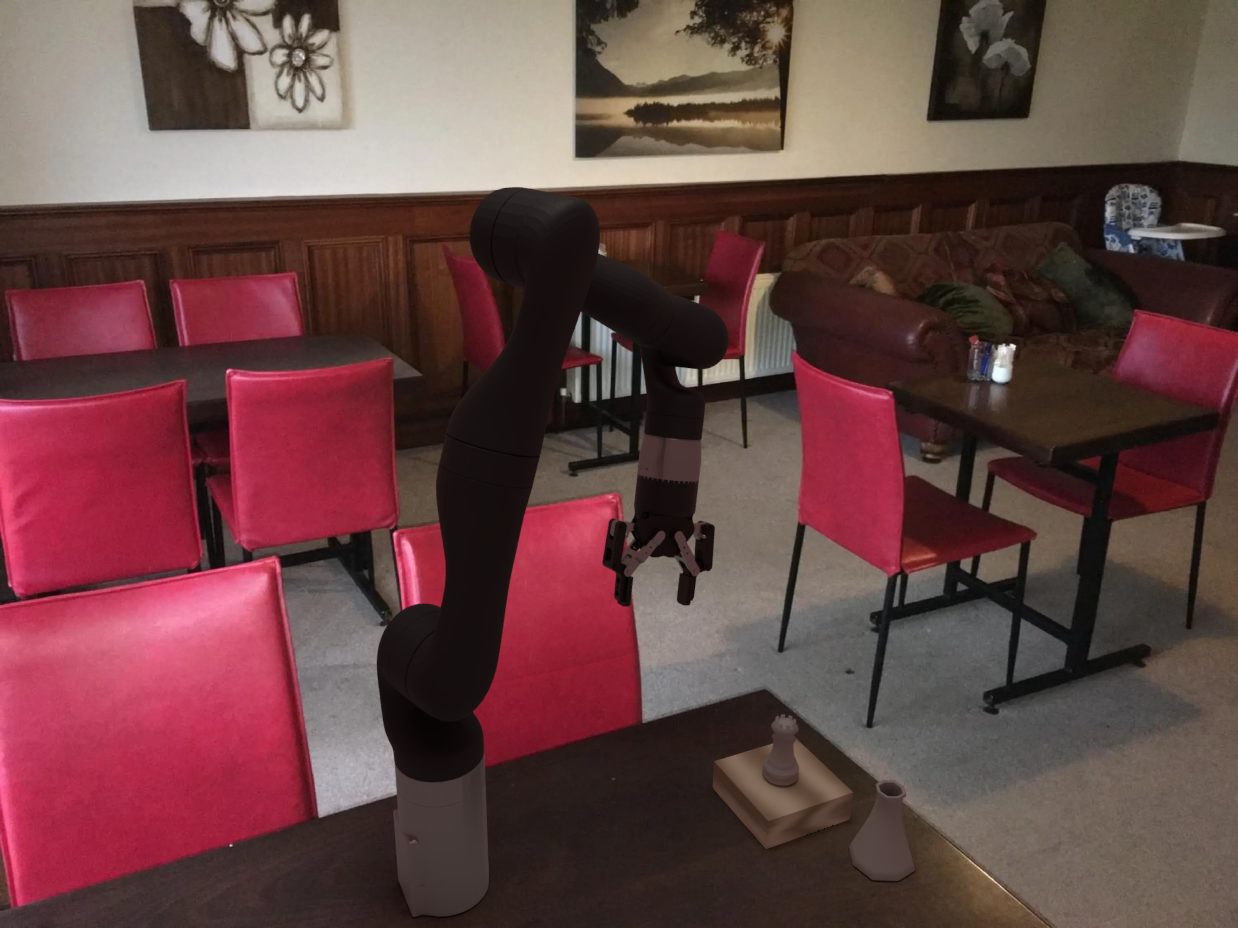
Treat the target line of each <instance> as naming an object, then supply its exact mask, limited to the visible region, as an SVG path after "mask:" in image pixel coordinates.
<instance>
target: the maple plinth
mask: <svg viewBox="0 0 1238 928" xmlns="http://www.w3.org/2000/svg"><path fill="white" fill-rule="evenodd" d="M793 746H794V756H795V758H796V761H797V763H798V765H799V778H798V779H797V780H796V781H795V782H794V783H793V784H791V785H788V786H778V785H774V784H772V783H770V782H769V781H768V780H767V779H766V778H765V777H764V775H763V772H762V770H763V767H764V766H763V764H764V761H765V759H766V758H767V757H768V755H769V754H770V753H771V751H772V747H773V743H770V744H767V745H763V746H760V747H756V748H753V749H750V750H747V751H743V752H740V753H737V754H734V755H730V756H727V757H724V758H721V759H717V760H714V761H713V776H712V777H713V778H712V789H713V790H714V791H715V792H716V794H717V795H719V798H721V800H722V801H723V802H724V803H725V805H727V806H728V807H729V808H730V810H731V811H732V812H733V813H734V815H736V817H737V818H738V819H739V820H740V821H741V822H742V824H744V826H745V827H746V828H747V829H748V830H749V831H750V833H751V834H752V835H753V836H754V837H755V838H756V839H757V841H758V842H759V843H760V844H761V845H762V847H764V849H765V850H768V849H771V848H773V847H777V846H780V845H782V844H785V843H788V842H790V841H794V840H796V839H799V838H802V837H806V836H807V834H808V835H810V833H811V834H814V833H815V832H818V830H819V831H822V830H824V828H825V829H827V827H828V828H830V827H832V825H833V826H836V825H838V824H842V823H844V822H845V823H846V822H848V821H849V820H850V819H851V813H852V812H851V811H852V806H853V796H854V792H853V790H851V789H850V788H849V787H848V786H847V785H846V784H845V783H844V782H843V781H842V780H841V779H840V778H838V777H837V775H835V773H834V772H832V771H831V770H830V769H829V767H827V766H826V765H825V764H824V763H823V762H821V760H819V758H818V757H816V756H815V754H813V753H812V752H811V751H810V750H809V749H808V748H807V747H806V746H805V745H803V743H802V742H800V740H798V738H796V741H795V742H794V745H793Z"/></svg>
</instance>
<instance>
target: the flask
mask: <svg viewBox="0 0 1238 928" xmlns="http://www.w3.org/2000/svg"><path fill="white" fill-rule="evenodd" d="M875 790H876V799H875V802H874V806H873V807H872V811H871V812H870V813H869V815H868V817H867V819H866V820H865V822H864V823H863V825H862V826H861V828H860V829H859V831H858V833H857V834H856V835H855V836H854V838H853V839H852V841H851V842H850V844H849V845H848V850H849V854H850V858H851V863H852V865H853V866H854V867H855V868H856V869H858V870H859V871H860V872H862V873H863V874H864V875H865V876H867V877H868V878H869V879H870V880H872V881H886V882H887V881H888V882H889V881H890V882H891V881H892V882H896V881H897V882H899V881H901V880H902V879H904V878H906V877H907V876H908V875H910V874H911V873H913V872H915V871H916V868H915V864H914V859H913V857H912V854H911V850H910V846H909V842H908V839H907V835H906V830H905V827H904V822H903V809H902V807H903V799H904V798H906V796H907V792H906V790H905V787H904V785H902V784H901V783H899V782H898V781H896V780H895V779H883V780H881V781H878V782H877V783H875Z"/></svg>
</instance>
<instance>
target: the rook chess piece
mask: <svg viewBox="0 0 1238 928" xmlns="http://www.w3.org/2000/svg"><path fill="white" fill-rule="evenodd" d="M770 727H771V730H772V731H773V734H772V735H771V738H772V741H773V742H772V744H773V747H772V751H771V753H770V754H769V755H768V757H767V758H766V759H765V761H764V764H763V766H764V767H763V770H762V772H763V775H764V777H765V778H766V779H767V780H768V781H769V782H770V783H772V784H774V785H778V786H788V785H791V784H793V783H794V782H795V781H796V780H797V779H798V778H799V765H798V763H797V761H796V758H795V756H794V746H793V745H794V742H795V741H796V739H797V737H796V736H795V735H797V733H798V732H799V730H800V728H799V725H798V724H797V719H796V718H793V716H792V715H790V714H789V715H788V716H787V717H786V714H785V713H784V714H780V716H779V715H777V716H775V719H774V721H773V722H771V725H770Z"/></svg>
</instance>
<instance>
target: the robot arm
mask: <svg viewBox="0 0 1238 928" xmlns="http://www.w3.org/2000/svg"><path fill="white" fill-rule="evenodd" d="M469 226H470V227H469V246H470V250H471V253H472V255H473V258H474V260H475V262H476V264H477V265H478V266H479V268H480V269H481V270H482V271H483V272H484V274H486V275H487V276H489V277H490V278H491V279H494V280H495V281H498V282H500V283H503V284H505V285H508V286H511V287H515V288H518V289H522V290H523V294H522V299H521V302H520V306H519V309H518V312H517V315H516V319H515V323H514V327H513V328H512V332H511V334H510V336H509V338H508V340H507V342H506V343H505V346H504V347H503V348H502V350H501V351H500V353H499V355H497V357H496V358H495V360H494V361H493V362H492V363H491V364H490V365H489V367H487V369H486V370H485V371H484V372H483V373H482V374H481V375H480V376H479V377H478V378H477V380H476V381H475V382H474V383H473V384H472V385H471V386H470V388H469V389H468V390H467V391H466V392H465V394H464V395H463V397H461V399H460V400H459V402H458V403H457V405H456V406H455V408H454V409H453V412H452V414H451V416H450V418H449V421H448V425H447V428H446V433H445V435H444V442H443V445H442V448H441V449H442V450H441V454H440V458H439V461H438V468H437V473H436V480H435V499H436V506H437V507H436V508H437V513H438V514H437V516H438V521H439V528H440V535H441V536H440V537H441V541H442V547H443V555H444V561H445V562H444V564H445V565H444V566H445V578H444V587H443V595H442V600H441V604H440V606H439V605H436V604H433V603H424V602H423V603H415V604H413V605H412V604H411V605H409V606H407V607H405V608H404V609H401V610H400V611H399V612H398V613H396V614H395V615H394V616H393V617H392V619H391V620H389V622H388V623H387V625H386V627H385V628H384V630H383V632H382V633H381V634H382V635H381V637H380V639H379V643H378V648H377V651H376V652H377V653H376V677H377V685H378V686H377V687H378V693H379V701H380V703H379V704H380V708H381V717H382V724H383V729H384V732H385V735H386V737H387V740H388V742H389V744H390V746H391V748H392V752H393V760H394V771H395V772H394V773H395V774H394V775H395V789H396V802H397V803H396V804H397V809H394V810H393V813H392V815H393V826H394V827H393V828H394V838H395V839H394V840H395V842H394V843H395V853H396V867H397V869H396V870H397V877H398V878H397V879H398V883H399V886H400V889H401V891H402V893H403V896H404V899H405V901H406V904H407V906H408V909H409V911H410V914H411V917H414V918H417V917H419V916H423V915H424V916H431V917H432V916H433V917H450V916H455V915H458V914H462V913H464V912H466V911H468V910H470V909H472V908H473V907H474V906H475V905H478V904H479V903H480V902H481V900H482V899H483V898H484V897H485V895H486V894H487V892H488V889H489V884H490V882H489V881H490V879H489V874H490V873H489V872H490V865H489V850H488V849H489V848H488V847H489V845H488V822H487V821H488V819H487V818H488V817H487V813H488V812H487V786H486V759H485V758H486V757H485V755H486V754H485V740H484V739H485V738H484V730H483V726H482V724H481V722H480V721H479V719H478V717H477V716H476V714H475V713H474V711H475V710H477V709H478V707H479V706H480V705H481V704H482V702H483V701H484V700H485V698H486V696H487V695H488V693H489V691H490V688H491V686H492V683H493V682H494V679H495V675H496V672H497V667H498V663H499V659H500V652H501V648H502V647H501V646H502V639H503V634H504V633H503V631H504V624H505V616H506V612H507V611H506V610H507V602H508V595H509V591H510V583H511V578H512V574H513V568H514V565H515V560H516V555H517V550H518V545H519V541H520V537H521V533H522V527H523V524H524V519H525V515H526V511H527V508H528V504H529V500H530V497H531V493H532V490H533V485H534V482H535V479H536V478H535V477H536V474H537V470H538V465H539V463H540V457H541V454H542V450H543V446H544V445H543V444H544V441H545V440H544V439H545V434H546V429H547V425H548V421H549V419H550V418H549V417H550V413H551V409H552V405H553V403H554V398H555V394H556V391H557V386H558V385H559V384H558V383H559V380H560V376H561V373H562V369H563V365H564V361H565V359H566V355H567V352H568V350H569V346H570V343H571V341H572V338H573V335H574V333H575V329H576V326H577V324H578V321H579V318H580V316H581V313H583V314H584V315H586V316H588V317H590V318H591V319H593V320H595V321H596V322H598V323H599V324H601V325H603V326H605V327H606V328H608V329H610V330H611V331H613V332H614V333H616V334H618V335H620V336H621V337H623V338H625V339H626V340H628V341H630V342H631V343H633V344H635V345H637V346H639V353H640V358H641V364H642V369H643V370H642V371H643V378H644V386H645V392H646V403H647V404H646V411H645V412H646V413H645V420H644V431H643V433H644V434H643V437H642V442H641V446H640V449H639V457H638V462H637V463H638V464H637V473H636V484H635V493H634V500H633V501H634V502H633V509H634V514H633V517H632V520H631V521H627V520H626V521H625V520H624V521H623V520H620V519H617V518H612V517H611V519H609V521H608V525H607V530H606V536H605V544H604V549H603V554H602V555H603V556H602V566H603V567H605V568H607V569H609V570H611V571H613V572H615V583H614V591H613V596H614V599H615V600H616V602H617V605H620V606H621V607H625V608H626V607H630V606H631V602H632V594H633V585H634V583H633V582H634V577H633V576H632V575H633V574H634V572H635V571H636V570H637V569H638V567H640V565H642V564H643V563H645V562H646V561H647V559H649V558H653V559H654V558H657V559H658V558H661V557H666V558H669V559H673V558H674V559H675V560H676V562H677V564H678V565H679V567H680V569H681V571H682V572H679V576H678V583H677V584H678V585H677V593H676V602H677V603H678V604H679V605H681V606H690V605H691V602H693V600H694V598H695V592H696V584H697V577H698V576H699V575H700V573H703V572H710V571H711V570H712V569H713V563H714V562H713V561H714V547H715V533H716V532H715V531H716V527H715V525H714V524H712V523H710V522H707V521H704V520H699V521H697V522H694V520H693V518H694V515H695V514H696V512H697V511H696V510H697V502H698V490H699V483H700V473H701V466H702V439H703V431H704V420H705V412H706V400H705V396H704V395H703V394H702V393H701V392H700V391H698V390H695V389H692V388H689V387H687V386H685V385H683V384H681V382H680V380H679V377H678V374H677V373H678V372H677V368H684V369H692V370H708V369H710V368H713V367H715V366H716V365H718V364H719V363H720V362H721V361H722V360H723V359H724V358H725V356H726V354H727V351H728V348H729V345H730V344H729V342H730V340H729V339H730V337H729V335H730V334H729V330H728V328H727V325H726V323H725V321H724V320H723V319H722V317H721V316H720V315H719V313H717V312H716V311H715V310H714V309H712V308H710V307H708V306H706V305H703V304H701V303H698V302H696V301H693V300H691V299H688V298H686V297H683V296H680V295H676V294H674V293H671V292H670V291H669V290H668V289H666V288H665V287H664V286H662V285H661V284H660V283H658V282H657V281H655V280H654V279H652V278H651V277H649V276H648V275H646V274H645V273H643V272H642V271H640V270H638V269H635V268H633V267H631V266H630V265H627V264H625V263H622V262H620V261H618V260H615V259H613V258H611V257H608V256H607V255H606V256H605V255H603V254H601V253H599V251H600V246H601V245H600V244H601V228H600V227H601V226H600V221H599V218H598V215H597V213H596V211H595V209H594V207H593V206H592V205H591V204H590V203H589V202H588V201H586V200H585V199H583V198H579V197H576V196H571V195H567V194H561V193H555V192H550V191H545V190H539V189H533V188H528V187H523V186H510V187H509V186H507V187H502V188H499V189H496V190H494V191H492V192H490V193H488V194H487V195H486V196H485V197H484V198H483V199H481V201H480V202H479V204H478V206H477V207H476V209H475V210H474V213H473V215H472V218H471V221H470V225H469ZM630 533H631V535H632V537H633V539H632V540H631V542H630V543H629V544H628V545H627V546H626V548H625V549H624V547H625V542H626V539H627V538H629V536H630V535H629V534H630ZM692 536H693V537H694V539H695V542H694V544H695V545H694V553H693V551H692V550H691V548H690V546H689V544H688V542H689V540H690V539H691V537H692ZM623 553H624V554H623Z"/></svg>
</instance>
